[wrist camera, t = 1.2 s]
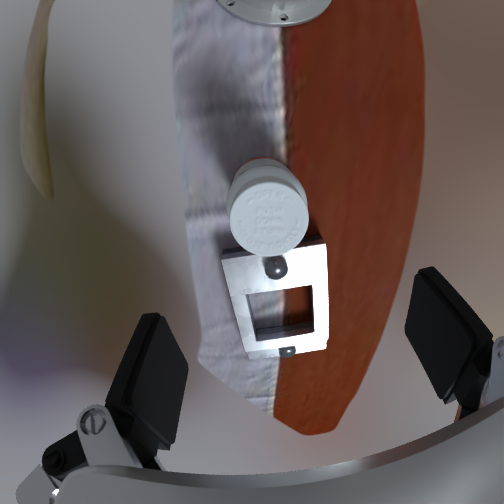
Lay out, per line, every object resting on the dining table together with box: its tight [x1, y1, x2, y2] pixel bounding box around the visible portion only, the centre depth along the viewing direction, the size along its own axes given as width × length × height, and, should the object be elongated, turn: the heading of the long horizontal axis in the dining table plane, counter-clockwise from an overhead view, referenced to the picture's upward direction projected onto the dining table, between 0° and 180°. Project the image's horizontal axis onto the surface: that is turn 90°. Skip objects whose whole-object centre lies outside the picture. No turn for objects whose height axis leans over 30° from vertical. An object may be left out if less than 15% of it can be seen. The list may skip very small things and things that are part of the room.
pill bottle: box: [226, 157, 309, 257], centre depth 22 cm, size 6×6×11 cm
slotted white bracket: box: [221, 235, 328, 360], centre depth 32 cm, size 17×11×3 cm, turn 10°
